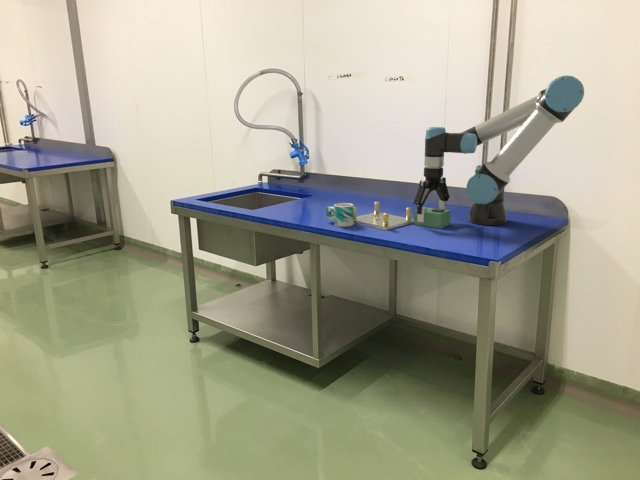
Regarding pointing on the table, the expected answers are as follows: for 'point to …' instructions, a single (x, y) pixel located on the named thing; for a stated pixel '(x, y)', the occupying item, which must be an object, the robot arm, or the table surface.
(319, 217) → the table surface
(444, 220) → the green control box
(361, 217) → the chassis
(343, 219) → the mug
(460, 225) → the table surface
